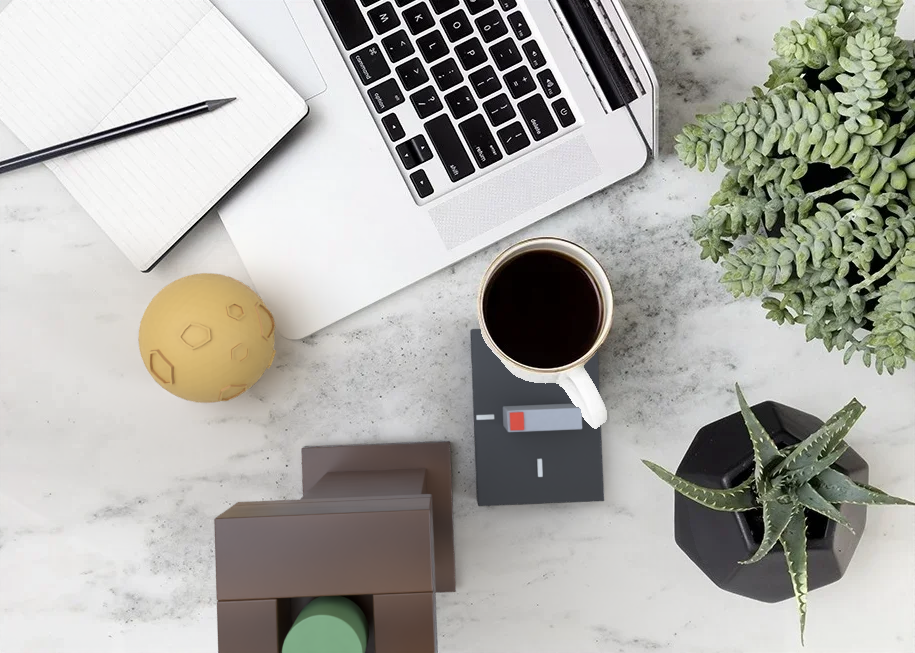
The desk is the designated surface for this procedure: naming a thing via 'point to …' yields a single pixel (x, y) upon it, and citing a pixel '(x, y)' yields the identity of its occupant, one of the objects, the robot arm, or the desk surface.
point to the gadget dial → (542, 417)
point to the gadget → (529, 440)
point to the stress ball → (207, 338)
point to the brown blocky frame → (326, 569)
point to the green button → (328, 628)
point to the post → (390, 484)
